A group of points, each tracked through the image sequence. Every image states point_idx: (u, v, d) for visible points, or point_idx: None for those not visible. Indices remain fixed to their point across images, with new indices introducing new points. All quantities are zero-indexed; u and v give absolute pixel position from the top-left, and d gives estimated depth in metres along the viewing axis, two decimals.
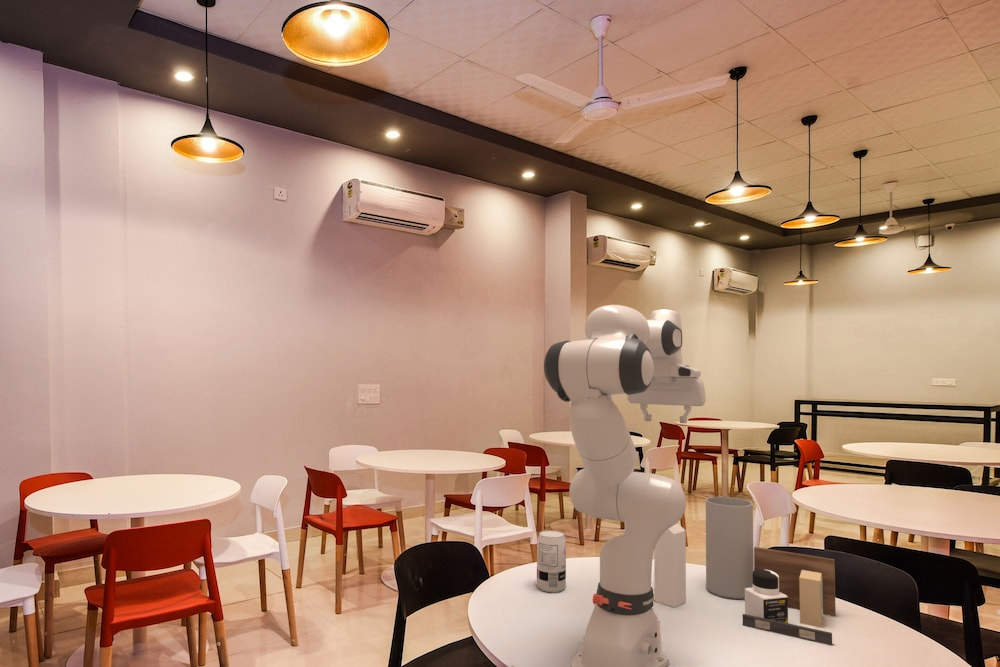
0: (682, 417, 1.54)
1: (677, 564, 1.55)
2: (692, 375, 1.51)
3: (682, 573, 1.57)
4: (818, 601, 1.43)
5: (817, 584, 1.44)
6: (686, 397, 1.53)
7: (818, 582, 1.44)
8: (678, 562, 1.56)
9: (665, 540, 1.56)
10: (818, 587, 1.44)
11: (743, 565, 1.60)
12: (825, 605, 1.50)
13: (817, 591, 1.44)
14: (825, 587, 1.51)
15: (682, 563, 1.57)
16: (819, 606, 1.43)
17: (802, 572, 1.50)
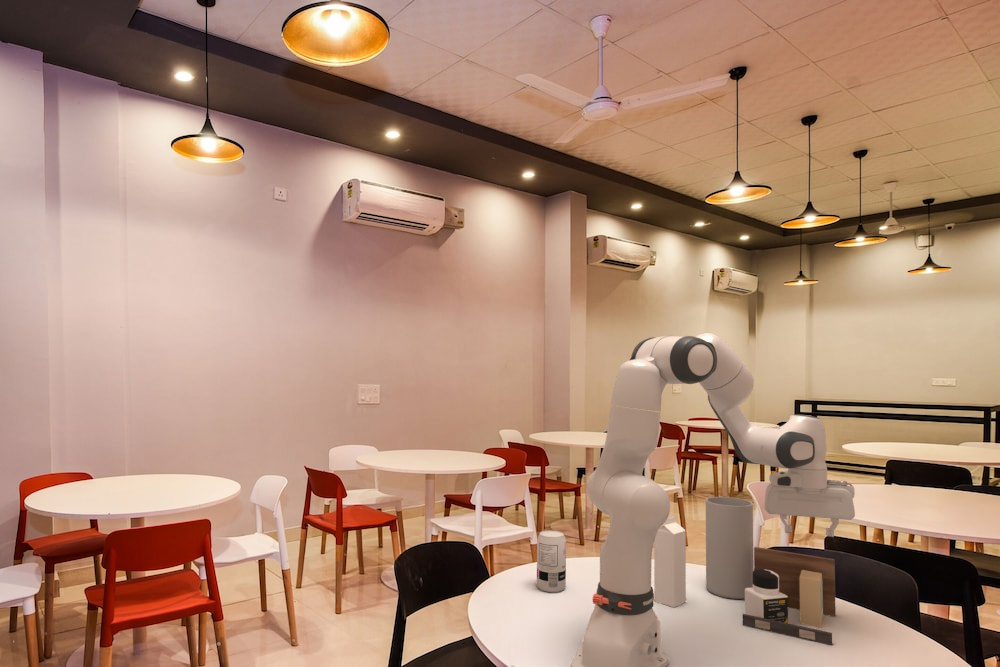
0: None
1: (677, 564, 1.55)
2: None
3: (682, 573, 1.57)
4: (818, 601, 1.43)
5: (817, 584, 1.44)
6: None
7: (818, 582, 1.44)
8: (678, 562, 1.56)
9: (664, 540, 1.56)
10: (818, 587, 1.44)
11: (743, 565, 1.60)
12: (825, 605, 1.50)
13: (817, 591, 1.44)
14: (825, 587, 1.51)
15: (682, 563, 1.57)
16: (819, 606, 1.43)
17: (802, 572, 1.50)
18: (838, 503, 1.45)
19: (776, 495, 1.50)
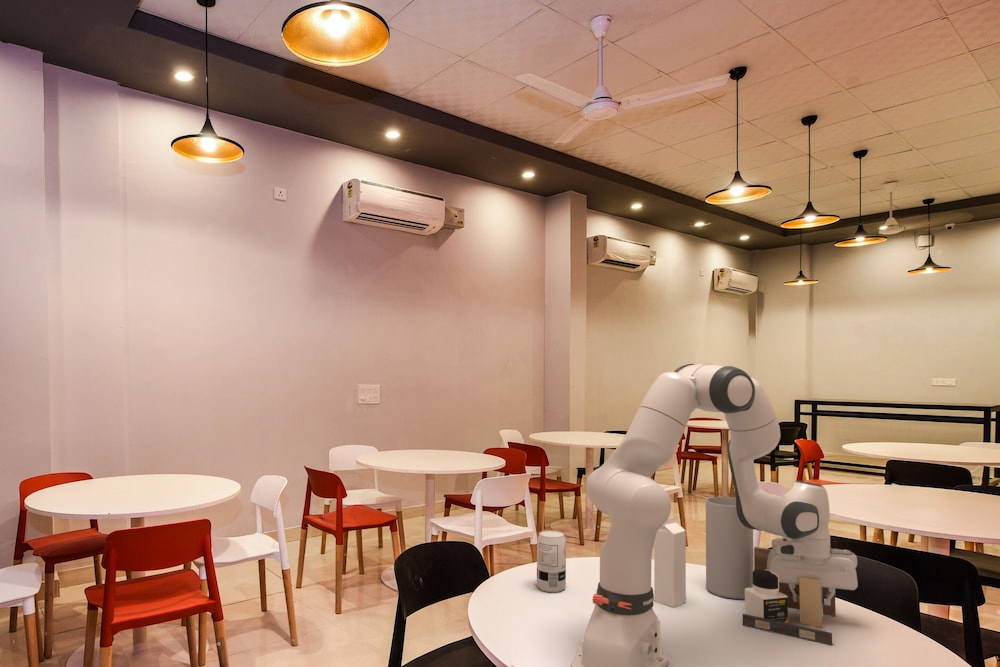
0: None
1: (677, 564, 1.55)
2: None
3: (682, 573, 1.57)
4: (818, 601, 1.43)
5: (817, 584, 1.44)
6: None
7: (818, 582, 1.44)
8: (678, 562, 1.56)
9: (664, 540, 1.56)
10: (818, 587, 1.44)
11: (743, 565, 1.60)
12: (825, 605, 1.50)
13: (817, 591, 1.44)
14: (825, 587, 1.51)
15: (682, 563, 1.57)
16: (819, 606, 1.43)
17: None
18: (841, 573, 1.44)
19: (779, 563, 1.48)
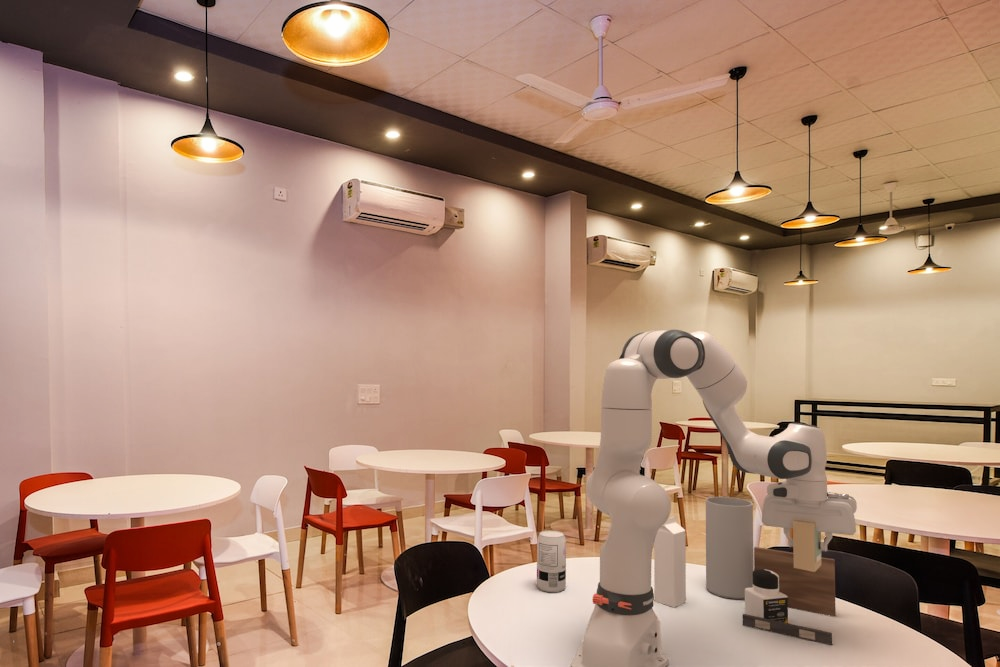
0: None
1: (677, 564, 1.55)
2: None
3: (682, 573, 1.57)
4: (812, 545, 1.38)
5: (811, 527, 1.39)
6: None
7: (812, 525, 1.39)
8: (678, 562, 1.56)
9: (664, 540, 1.56)
10: (812, 530, 1.38)
11: (743, 565, 1.60)
12: (825, 605, 1.50)
13: (811, 534, 1.38)
14: (825, 587, 1.51)
15: (682, 563, 1.57)
16: (813, 550, 1.38)
17: None
18: (838, 517, 1.38)
19: (772, 507, 1.44)
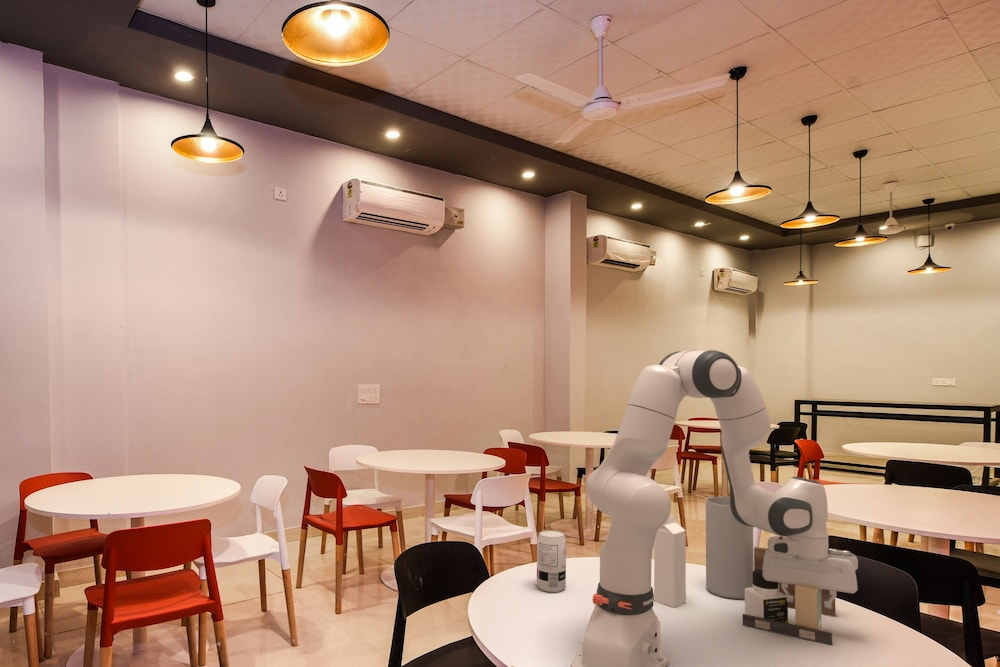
0: None
1: (677, 564, 1.55)
2: None
3: (682, 573, 1.57)
4: (814, 611, 1.37)
5: (813, 593, 1.37)
6: None
7: (814, 591, 1.37)
8: (678, 562, 1.56)
9: (664, 540, 1.56)
10: (814, 596, 1.37)
11: (743, 565, 1.60)
12: None
13: (813, 601, 1.37)
14: None
15: (682, 563, 1.57)
16: (815, 616, 1.37)
17: None
18: (840, 575, 1.37)
19: (773, 561, 1.43)
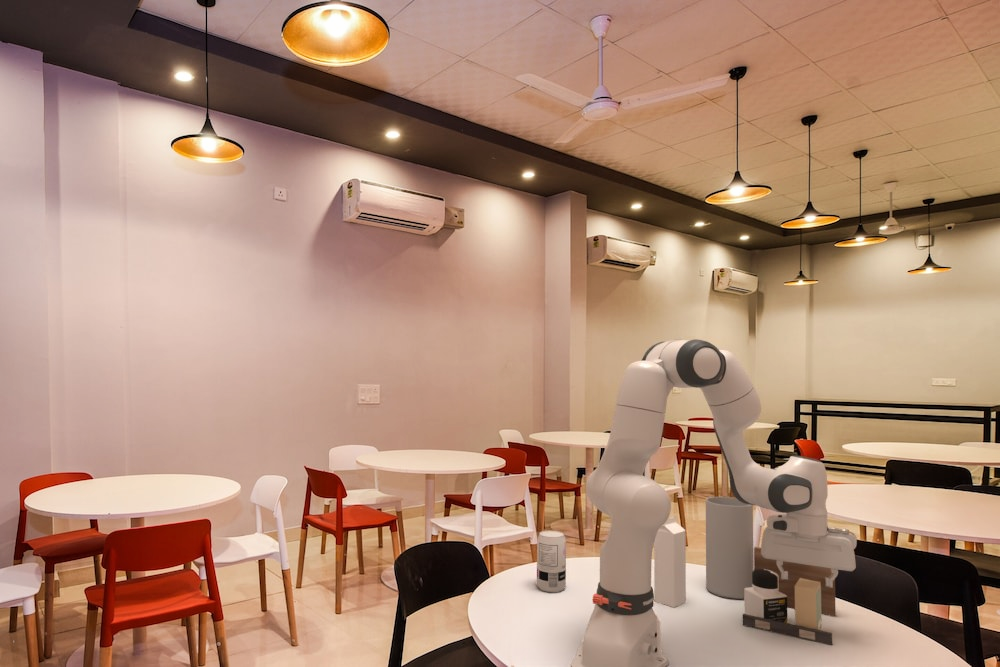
0: None
1: (677, 564, 1.55)
2: None
3: (682, 573, 1.57)
4: (814, 611, 1.37)
5: (813, 593, 1.37)
6: None
7: (814, 591, 1.37)
8: (678, 562, 1.56)
9: (664, 540, 1.56)
10: (814, 597, 1.37)
11: (743, 565, 1.60)
12: (825, 605, 1.50)
13: (813, 601, 1.37)
14: (825, 587, 1.51)
15: (682, 563, 1.57)
16: (815, 616, 1.37)
17: (799, 580, 1.43)
18: (838, 553, 1.37)
19: (772, 539, 1.43)
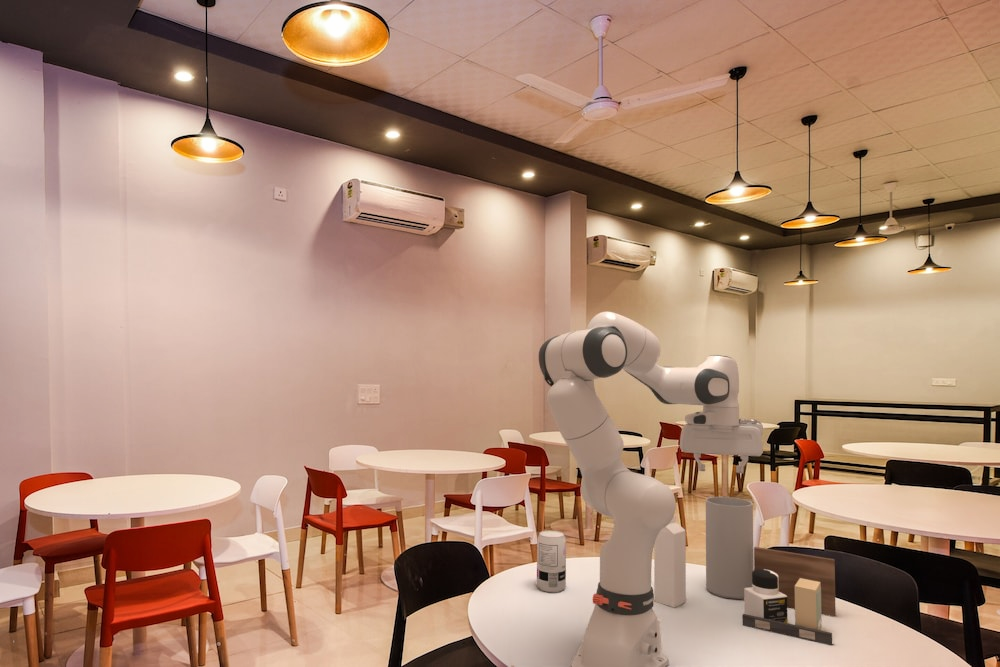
0: None
1: (677, 564, 1.55)
2: None
3: (682, 573, 1.57)
4: (814, 611, 1.37)
5: (813, 593, 1.37)
6: None
7: (814, 591, 1.37)
8: (678, 562, 1.56)
9: (664, 540, 1.56)
10: (814, 596, 1.37)
11: (743, 565, 1.60)
12: (825, 605, 1.50)
13: (813, 601, 1.37)
14: (825, 587, 1.51)
15: (682, 563, 1.57)
16: (815, 616, 1.37)
17: (799, 580, 1.43)
18: (749, 440, 1.50)
19: (691, 434, 1.52)
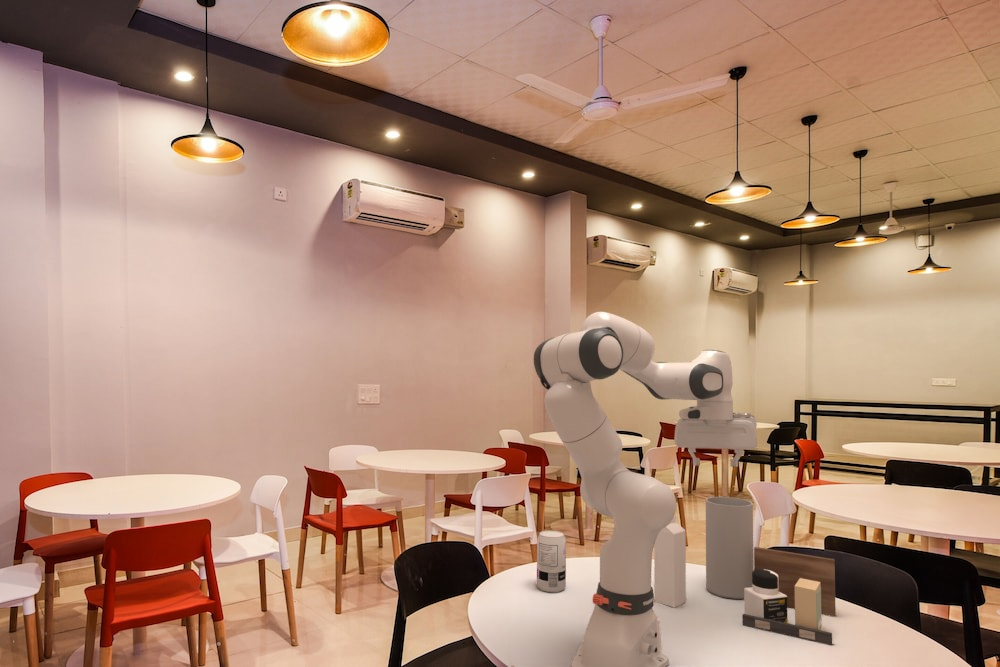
0: None
1: (677, 564, 1.55)
2: None
3: (682, 573, 1.57)
4: (814, 611, 1.37)
5: (813, 593, 1.37)
6: None
7: (814, 591, 1.37)
8: (678, 562, 1.56)
9: (664, 540, 1.56)
10: (814, 596, 1.37)
11: (743, 565, 1.60)
12: (825, 605, 1.50)
13: (813, 601, 1.37)
14: (825, 587, 1.51)
15: (682, 563, 1.57)
16: (815, 616, 1.37)
17: (799, 580, 1.43)
18: (743, 434, 1.51)
19: (686, 429, 1.53)
